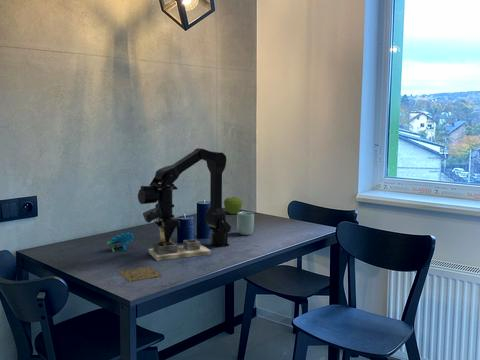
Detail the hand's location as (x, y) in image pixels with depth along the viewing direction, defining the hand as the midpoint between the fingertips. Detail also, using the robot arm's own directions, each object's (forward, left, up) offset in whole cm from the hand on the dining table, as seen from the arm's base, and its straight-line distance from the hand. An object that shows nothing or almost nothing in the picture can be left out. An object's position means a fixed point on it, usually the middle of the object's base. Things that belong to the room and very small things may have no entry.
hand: (165, 240), depth 189 cm
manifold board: (-6, 0, -6) cm, 8 cm away
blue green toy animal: (+14, -15, -6) cm, 22 cm away
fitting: (0, 0, -2) cm, 3 cm away
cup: (-45, -19, -6) cm, 49 cm away
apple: (-61, -66, -6) cm, 90 cm away
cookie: (+15, +19, -6) cm, 25 cm away
